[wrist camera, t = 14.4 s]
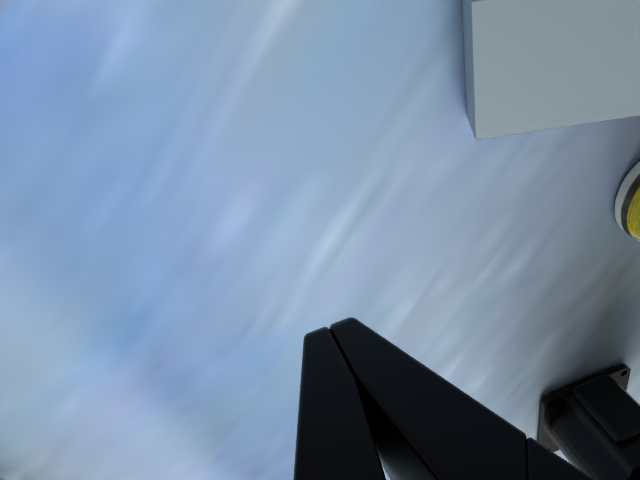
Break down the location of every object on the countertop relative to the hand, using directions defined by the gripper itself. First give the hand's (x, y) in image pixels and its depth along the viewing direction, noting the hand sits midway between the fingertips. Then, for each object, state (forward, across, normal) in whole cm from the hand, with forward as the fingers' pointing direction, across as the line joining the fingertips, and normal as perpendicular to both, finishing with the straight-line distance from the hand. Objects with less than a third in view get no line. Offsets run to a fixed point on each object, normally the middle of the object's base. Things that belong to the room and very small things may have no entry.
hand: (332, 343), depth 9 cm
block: (+12, -9, +1) cm, 15 cm away
